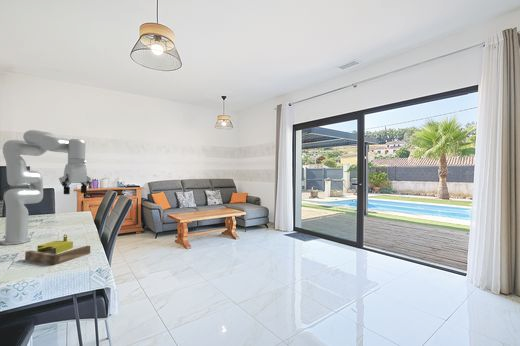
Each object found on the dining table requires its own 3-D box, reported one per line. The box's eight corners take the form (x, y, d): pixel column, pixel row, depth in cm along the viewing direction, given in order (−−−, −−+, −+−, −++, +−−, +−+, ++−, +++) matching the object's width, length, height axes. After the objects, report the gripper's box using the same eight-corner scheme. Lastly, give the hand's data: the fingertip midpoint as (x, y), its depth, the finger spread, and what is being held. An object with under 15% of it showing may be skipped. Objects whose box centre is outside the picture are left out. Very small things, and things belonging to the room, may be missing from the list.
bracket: (25, 240, 125) (52, 233, 140) (24, 256, 125) (52, 247, 140) (53, 242, 124) (78, 235, 139) (52, 257, 124) (77, 249, 139)
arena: (25, 260, 118) (25, 251, 118) (63, 249, 135) (63, 242, 135) (54, 264, 113) (54, 256, 113) (90, 253, 130) (90, 245, 130)
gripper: (85, 162, 144) (84, 192, 144) (54, 161, 127) (53, 194, 127) (95, 163, 142) (94, 192, 142) (66, 161, 125) (65, 195, 125)
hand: (75, 193), depth 134 cm, fingers open, 9 cm apart
